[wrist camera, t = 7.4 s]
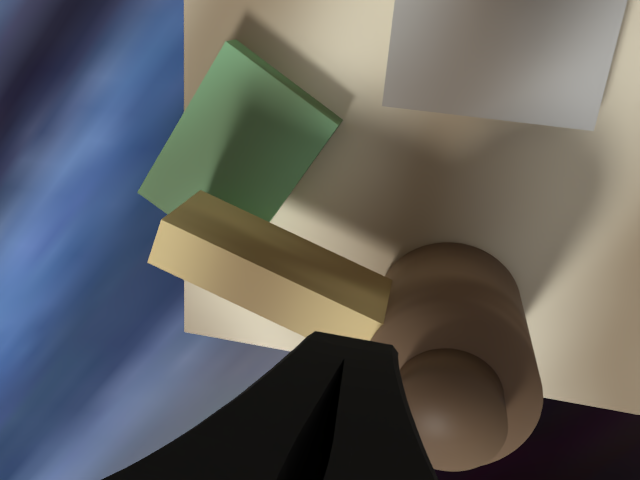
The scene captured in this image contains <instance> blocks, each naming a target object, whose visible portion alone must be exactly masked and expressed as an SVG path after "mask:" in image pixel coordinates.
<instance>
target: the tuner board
mask: <svg viewBox="0 0 640 480" xmlns="http://www.w3.org/2000/svg"><path fill="white" fill-rule="evenodd" d="M200 190H202V191H204V192H206V193H208V194H210V195H212V196H215V197H217V198H219V199H221V200H223V201H225V202H227V203H229V204H232V205H234V206H236V207H238V208H240V209H242V210H244V211H246V212H249V213H251V214H253V215H255V216H257V217H259V218H261V219H263V220H266V221H268V222H270V223H272V224H274V225H276V226H278V227H281V228H283V229H285V230H287V231H289V232H291V233H293V234H295V235H298V236H300V237H302V238H304V239H306V240H308V241H310V242H312V243H315V244H317V245H319V246H321V247H323V248H325V249H327V250H330V251H332V252H334V253H336V254H338V255H340V256H342V257H344V258H347V259H349V260H351V261H353V262H355V263H357V264H359V265H361V266H364V267H366V268H368V269H370V270H372V271H374V272H376V273H378V274H381V275H383V276H385V275H386V274H387V272H388V270H389V269H390V268H391V267H392V266H393V264H394V263H396V262H397V261H398V260H399V259H400V258H401V257H403V256H404V255H406V254H407V253H409V252H411V251H413V250H415V249H417V248H419V247H422V246H425V245H429V244H434V243H442V242H454V243H462V244H466V245H470V246H474V247H476V248H479V249H481V250H483V251H485V252H487V253H489V254H491V255H492V256H494V257H495V258H496V259H498V260H499V261H500V262H501V263H502V264H503V265H504V266H505V267H506V268H507V269H508V271H509V272H510V273H511V275H512V276H513V278H514V280H515V281H516V284H517V286H518V289H519V292H520V296H521V300H522V304H523V308H524V313H525V317H526V321H527V325H528V329H529V333H530V337H531V341H532V346H533V350H534V354H535V358H536V362H537V366H538V370H539V374H540V378H541V383H542V388H543V397H544V398H550V399H555V400H560V401H566V402H571V403H577V404H582V405H588V406H593V407H599V408H604V409H610V410H615V411H621V412H626V413H632V414H637V415H640V0H184V113H183V115H182V117H181V119H180V120H179V122H178V124H177V125H176V127H175V129H174V131H173V132H172V134H171V136H170V137H169V139H168V141H167V143H166V144H165V146H164V148H163V149H162V151H161V153H160V155H159V156H158V158H157V160H156V161H155V163H154V165H153V167H152V168H151V170H150V172H149V173H148V175H147V177H146V179H145V180H144V182H143V184H142V185H141V187H140V189H139V191H138V193H139V194H140V195H142V196H143V197H144V198H146V199H147V200H149V201H150V202H151V203H153V204H154V205H155V206H157V207H158V208H160V209H161V210H162V211H164V212H165V213H167V214H169V213H171V212H172V211H173V210H175V209H176V208H177V207H179V206H180V205H181V204H183V203H184V202H185V201H187V200H188V199H189V198H191V197H192V196H193V195H194V194H196V193H197V192H198V191H200ZM184 332H188V333H193V334H199V335H204V336H210V337H215V338H221V339H226V340H232V341H237V342H242V343H248V344H253V345H259V346H264V347H270V348H275V349H281V350H286V351H292V350H293V349H294V348H295V347H296V346H298V345H299V344H300V343H301V342H302V341H303V340H304V339H305V338H306V337H304V336H302V335H299V334H297V333H295V332H293V331H291V330H289V329H287V328H285V327H283V326H280V325H278V324H276V323H274V322H272V321H270V320H268V319H266V318H264V317H261V316H259V315H257V314H255V313H253V312H251V311H249V310H247V309H245V308H242V307H240V306H238V305H236V304H234V303H232V302H230V301H228V300H226V299H223V298H221V297H219V296H217V295H215V294H213V293H211V292H209V291H207V290H204V289H202V288H200V287H198V286H196V285H194V284H192V283H190V282H188V281H186V280H184Z"/></svg>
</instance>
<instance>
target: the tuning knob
mask: <svg viewBox="0 0 640 480" xmlns="http://www.w3.org/2000/svg"><path fill="white" fill-rule="evenodd" d="M148 263H150V264H152V265H154V266H156V267H158V268H160V269H162V270H164V271H167V272H169V273H171V274H173V275H175V276H177V277H179V278H181V279H183V280H186V281H188V282H190V283H192V284H194V285H196V286H198V287H200V288H202V289H204V290H207V291H209V292H211V293H213V294H215V295H217V296H219V297H221V298H223V299H226V300H228V301H230V302H232V303H234V304H236V305H238V306H240V307H242V308H245V309H247V310H249V311H251V312H253V313H255V314H257V315H259V316H261V317H264V318H266V319H268V320H270V321H272V322H274V323H276V324H278V325H280V326H283V327H285V328H287V329H289V330H291V331H293V332H295V333H297V334H299V335H302V336H304V337H307V336H308V335H310V334H311V333H313V332H315V331H319V332H324V333H330V334H335V335H341V336H346V337H352V338H357V339H363V340H368V341H374V342H379V343H385V344H390V345H393V346H394V348H395V349H396V350H397V352H398V360H399V368H400V374H401V378H402V383H403V386H404V390H405V394H406V398H407V401H408V404H409V407H410V410H411V413H412V416H413V419H414V421H415V424H416V427H417V430H418V432H419V435H420V438H421V441H422V443H423V445H424V448H425V450H426V453H427V455H428V457H429V460H430V462H431V464H432V466H433V469H437V470H442V471H464V470H469V469H473V468H476V467H479V466H481V465H486V464H489V463H491V462H494V461H497V460H499V459H501V458H503V457H505V456H507V455H508V454H510V453H511V452H513V451H514V450H516V449H517V448H518V447H519V446H520V445H522V444H523V443H524V442H525V440H526V439H527V438H528V437H529V436H530V435H531V433H532V431H533V430H534V428H535V427H536V425H537V422H538V420H539V418H540V414H541V410H542V405H543V388H542V383H541V378H540V374H539V370H538V366H537V362H536V358H535V354H534V350H533V346H532V341H531V337H530V333H529V329H528V325H527V321H526V317H525V313H524V308H523V304H522V300H521V296H520V292H519V289H518V286H517V284H516V281H515V280H514V278H513V276H512V275H511V273H510V272H509V271H508V269H507V268H506V267H505V266H504V265H503V264H502V263H501V262H500V261H499V260H498V259H496V258H495V257H494V256H492V255H491V254H489V253H487V252H485V251H483V250H481V249H479V248H476V247H474V246H470V245H466V244H462V243H454V242H442V243H434V244H429V245H425V246H422V247H419V248H417V249H415V250H413V251H411V252H409V253H407V254H406V255H404V256H403V257H401V258H400V259H399V260H398V261H397V262H396V263H394V264H393V266H392V267H391V268H390V269H389V270H388V272H387V274H386V275H385V276H383V275H381V274H378V273H376V272H374V271H372V270H370V269H368V268H366V267H364V266H361V265H359V264H357V263H355V262H353V261H351V260H349V259H347V258H344V257H342V256H340V255H338V254H336V253H334V252H332V251H330V250H327V249H325V248H323V247H321V246H319V245H317V244H315V243H312V242H310V241H308V240H306V239H304V238H302V237H300V236H298V235H295V234H293V233H291V232H289V231H287V230H285V229H283V228H281V227H278V226H276V225H274V224H272V223H270V222H268V221H266V220H263V219H261V218H259V217H257V216H255V215H253V214H251V213H249V212H246V211H244V210H242V209H240V208H238V207H236V206H234V205H232V204H229V203H227V202H225V201H223V200H221V199H219V198H217V197H215V196H212V195H210V194H208V193H206V192H204V191H202V190H200V191H198V192H197V193H196V194H194V195H193V196H192V197H191V198H189V199H188V200H187V201H185V202H184V203H183V204H181V205H180V206H179V207H177V208H176V209H175V210H173V211H172V212H171V213H169V214H168V215H167V216H166V217H164V218H163V219H162V220H161V222H160V225H159V228H158V232H157V235H156V238H155V241H154V244H153V247H152V250H151V253H150V256H149V259H148Z"/></svg>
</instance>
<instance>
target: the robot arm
mask: <svg viewBox="0 0 640 480" xmlns="http://www.w3.org/2000/svg"><path fill="white" fill-rule="evenodd" d="M102 480H438V477H437V475H436V473H435V471H434V469H433V466H432V464H431V462H430V460H429V457H428V455H427V453H426V450H425V448H424V445H423V443H422V441H421V438H420V435H419V432H418V430H417V427H416V424H415V421H414V419H413V416H412V413H411V410H410V407H409V404H408V401H407V398H406V394H405V390H404V386H403V383H402V378H401V374H400V368H399V360H398V352H397V350H396V349H395V348H394V346H393V345H390V344H385V343H379V342H374V341H368V340H363V339H357V338H352V337H346V336H341V335H335V334H330V333H324V332H319V331H315V332H313V333H311V334H310V335H308V336H307V337H306V338H305V339H304V340H303V341H302V342H301V343H300V344H299V345H298V346H296V347H295V348H294V349H293V350H292V351H291V352H290V353H289V354H288V355H287V356H285V357H284V358H283V359H282V360H281V361H280V362H279V363H277V364H276V365H275V366H274V367H273V368H272V369H271V370H269V371H268V372H267V373H266V374H265V375H263V376H262V377H261V378H260V379H258V380H257V381H256V382H255V383H253V384H252V385H251V386H250V387H248V388H247V389H246V390H245V391H244V392H242V393H241V394H240V395H238V396H237V397H236V398H235V399H233V400H232V401H230V402H229V403H228V404H226V405H225V406H223V407H222V408H221V409H219V410H218V411H216V412H215V413H214V414H212V415H211V416H209V417H208V418H207V419H205V420H204V421H202V422H201V423H200V424H198V425H197V426H195V427H194V428H192V429H191V430H189V431H188V432H186V433H185V434H183V435H181V436H180V437H178V438H177V439H175V440H174V441H172V442H170V443H169V444H167V445H165V446H164V447H162V448H160V449H159V450H157V451H155V452H154V453H152V454H150V455H148V456H147V457H145V458H143V459H141V460H140V461H138V462H136V463H134V464H132V465H130V466H129V467H127V468H125V469H123V470H121V471H119V472H116V473H114V474H112V475H110V476H108V477H106V478H104V479H102Z"/></svg>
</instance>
